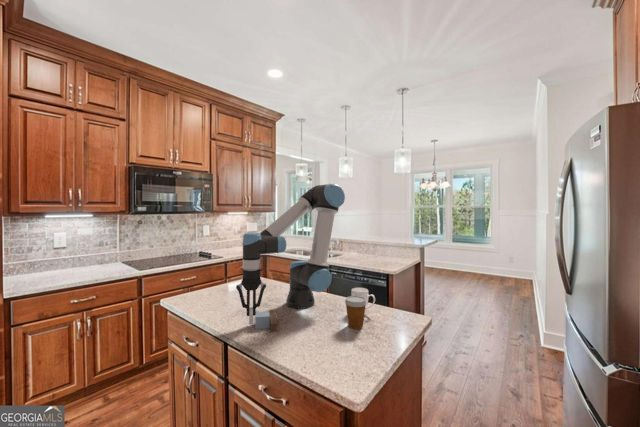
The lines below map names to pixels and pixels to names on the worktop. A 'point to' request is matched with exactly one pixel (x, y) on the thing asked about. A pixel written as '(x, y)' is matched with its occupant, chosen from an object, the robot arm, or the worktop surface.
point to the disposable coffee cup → (355, 311)
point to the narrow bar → (273, 321)
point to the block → (262, 320)
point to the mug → (362, 294)
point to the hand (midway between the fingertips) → (251, 322)
